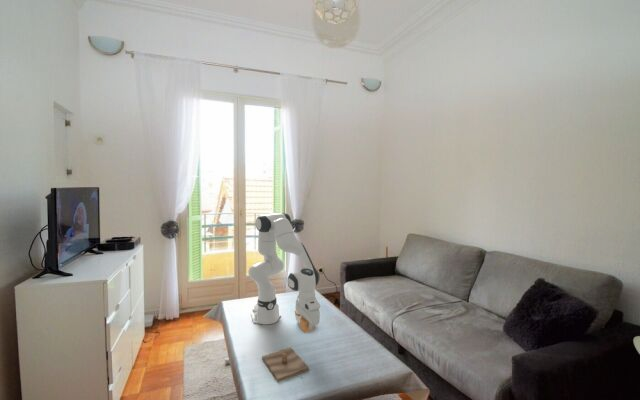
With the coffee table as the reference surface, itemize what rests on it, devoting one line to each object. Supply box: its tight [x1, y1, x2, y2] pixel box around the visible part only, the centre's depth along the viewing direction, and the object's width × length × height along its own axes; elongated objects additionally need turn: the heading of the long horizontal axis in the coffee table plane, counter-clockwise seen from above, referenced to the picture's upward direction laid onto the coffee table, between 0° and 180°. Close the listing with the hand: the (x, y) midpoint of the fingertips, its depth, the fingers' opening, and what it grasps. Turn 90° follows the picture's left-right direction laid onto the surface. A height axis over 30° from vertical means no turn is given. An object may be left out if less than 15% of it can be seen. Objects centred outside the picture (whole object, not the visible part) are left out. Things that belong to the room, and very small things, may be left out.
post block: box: [261, 346, 310, 383], centre depth 147 cm, size 20×16×5 cm
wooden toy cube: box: [299, 317, 315, 333], centre depth 158 cm, size 5×5×6 cm
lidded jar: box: [294, 309, 301, 325], centre depth 190 cm, size 11×11×9 cm
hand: (306, 325), depth 158 cm, fingers closed on wooden toy cube, 5 cm apart
